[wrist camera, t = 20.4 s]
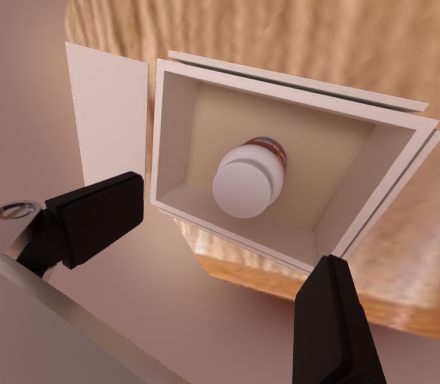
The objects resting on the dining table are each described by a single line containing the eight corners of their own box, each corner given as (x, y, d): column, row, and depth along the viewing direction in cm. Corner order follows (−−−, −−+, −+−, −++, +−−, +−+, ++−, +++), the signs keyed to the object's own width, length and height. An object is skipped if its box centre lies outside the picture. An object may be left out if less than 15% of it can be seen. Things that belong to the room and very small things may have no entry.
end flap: (148, 63, 16) (65, 41, 15) (144, 200, 23) (86, 195, 21) (149, 64, 17) (68, 42, 15) (144, 197, 23) (88, 193, 22)
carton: (402, 111, 18) (465, 110, 11) (319, 242, 26) (328, 286, 19) (196, 66, 23) (157, 47, 16) (180, 188, 30) (149, 208, 24)
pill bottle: (298, 162, 22) (302, 198, 13) (260, 192, 25) (240, 240, 16) (263, 124, 22) (239, 132, 12) (229, 159, 25) (189, 187, 16)
